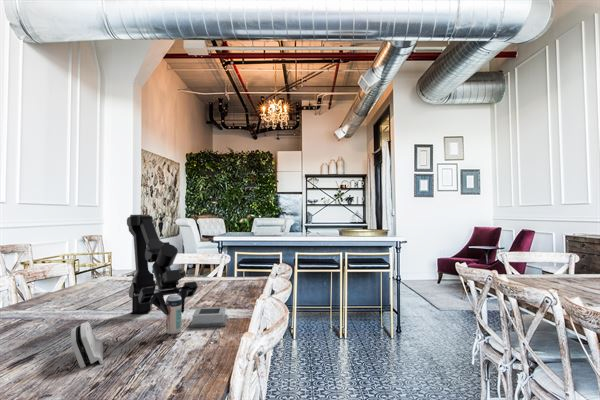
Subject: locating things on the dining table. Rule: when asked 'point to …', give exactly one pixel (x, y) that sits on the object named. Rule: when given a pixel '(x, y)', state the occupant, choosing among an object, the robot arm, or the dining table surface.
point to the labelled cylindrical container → (173, 314)
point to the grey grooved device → (86, 345)
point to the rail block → (209, 317)
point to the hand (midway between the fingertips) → (175, 313)
